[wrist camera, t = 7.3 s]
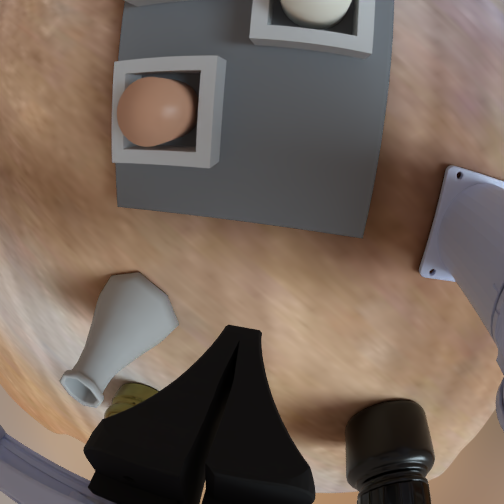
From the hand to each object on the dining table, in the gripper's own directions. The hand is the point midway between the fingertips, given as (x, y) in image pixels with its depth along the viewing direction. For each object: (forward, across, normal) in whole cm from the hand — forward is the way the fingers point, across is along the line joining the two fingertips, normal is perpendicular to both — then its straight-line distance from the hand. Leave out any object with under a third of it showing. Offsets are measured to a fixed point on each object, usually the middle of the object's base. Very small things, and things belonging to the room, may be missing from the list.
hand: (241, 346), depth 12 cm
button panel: (+10, +3, -12) cm, 16 cm away
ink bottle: (+10, -15, +18) cm, 26 cm away
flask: (+10, +10, +8) cm, 17 cm away
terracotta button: (+8, +6, -8) cm, 13 cm away
